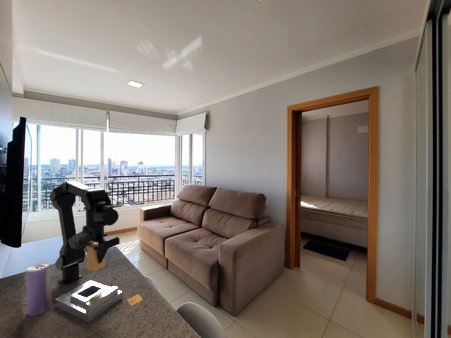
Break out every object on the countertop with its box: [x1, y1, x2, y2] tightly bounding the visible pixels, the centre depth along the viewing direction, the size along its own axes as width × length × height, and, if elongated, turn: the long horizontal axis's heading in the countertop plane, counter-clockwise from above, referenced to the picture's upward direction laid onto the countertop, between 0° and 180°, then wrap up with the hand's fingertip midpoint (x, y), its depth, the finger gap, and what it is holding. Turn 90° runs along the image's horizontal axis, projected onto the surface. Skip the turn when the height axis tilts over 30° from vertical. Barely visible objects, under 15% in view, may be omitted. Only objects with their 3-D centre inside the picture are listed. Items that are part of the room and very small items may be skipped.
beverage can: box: [25, 262, 52, 317], centre depth 66 cm, size 6×6×15 cm
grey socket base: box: [54, 280, 123, 323], centre depth 70 cm, size 18×12×4 cm, turn 68°
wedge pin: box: [86, 243, 106, 272], centre depth 74 cm, size 5×5×9 cm
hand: (95, 262), depth 74 cm, fingers closed on wedge pin, 4 cm apart
